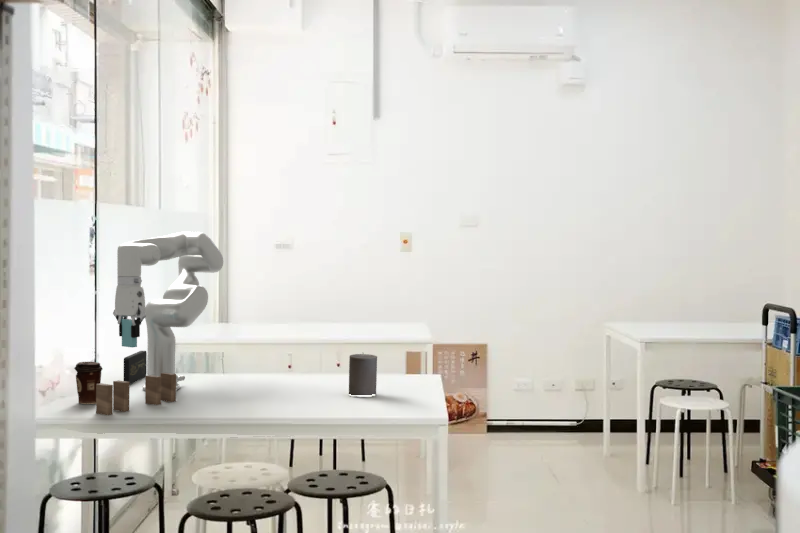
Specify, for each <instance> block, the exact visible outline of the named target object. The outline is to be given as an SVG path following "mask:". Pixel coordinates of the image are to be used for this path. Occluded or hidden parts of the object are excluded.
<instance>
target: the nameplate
mask: <svg viewBox="0 0 800 533" xmlns="http://www.w3.org/2000/svg"><path fill="white" fill-rule="evenodd" d="M147 360H148V351H147V350H139V351H137V352H135V353H132V354H130V355H128V356H125V357H124V358H123V381H126V382H129V386H131V385H132V384H134V383H136V382H139V381H140V380H142V379H144V378H145V376H147Z"/></svg>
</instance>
